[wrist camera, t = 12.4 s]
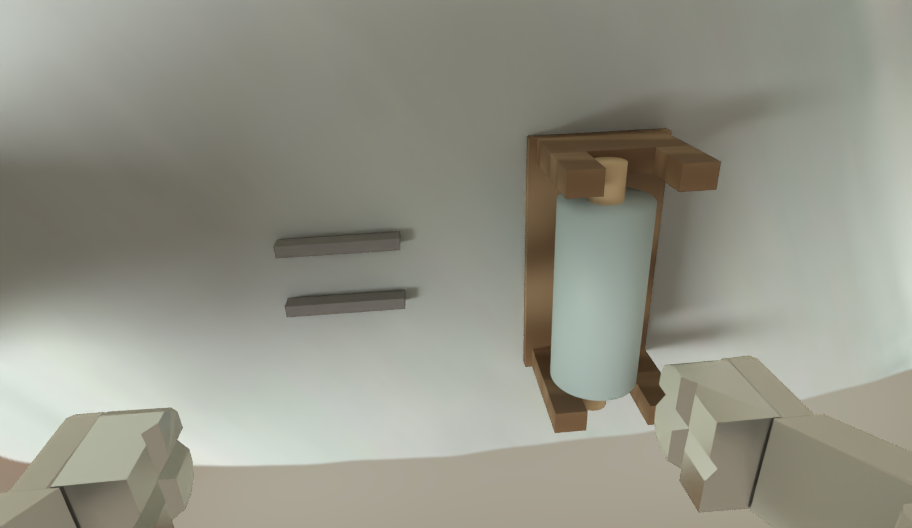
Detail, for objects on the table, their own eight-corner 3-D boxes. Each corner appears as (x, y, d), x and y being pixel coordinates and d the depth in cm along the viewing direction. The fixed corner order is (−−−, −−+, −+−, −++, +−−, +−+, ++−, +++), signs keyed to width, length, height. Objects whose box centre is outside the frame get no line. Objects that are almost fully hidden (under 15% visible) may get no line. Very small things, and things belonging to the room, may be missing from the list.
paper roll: (597, 144, 35) (537, 162, 32) (681, 159, 31) (623, 182, 28) (582, 366, 42) (532, 400, 39) (649, 401, 38) (599, 441, 35)
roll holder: (639, 351, 44) (686, 421, 37) (523, 360, 43) (547, 433, 36) (666, 128, 37) (730, 161, 29) (526, 136, 36) (557, 171, 29)
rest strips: (289, 308, 40) (286, 317, 39) (277, 239, 38) (273, 246, 37) (405, 300, 40) (405, 308, 39) (399, 231, 38) (398, 238, 37)
